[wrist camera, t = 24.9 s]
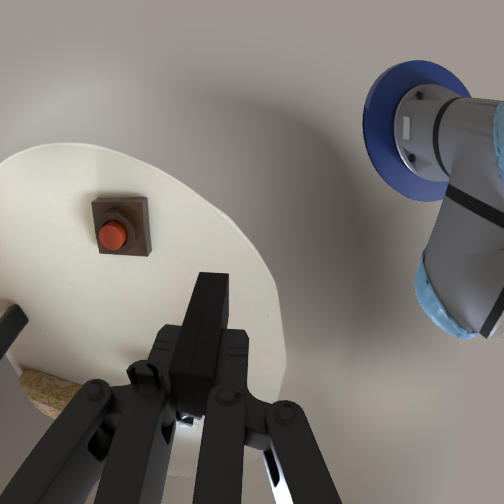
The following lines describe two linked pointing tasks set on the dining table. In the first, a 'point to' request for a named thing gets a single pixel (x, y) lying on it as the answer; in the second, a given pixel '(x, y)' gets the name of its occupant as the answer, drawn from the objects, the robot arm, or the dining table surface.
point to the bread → (48, 391)
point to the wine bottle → (11, 327)
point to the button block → (124, 223)
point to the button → (113, 235)
